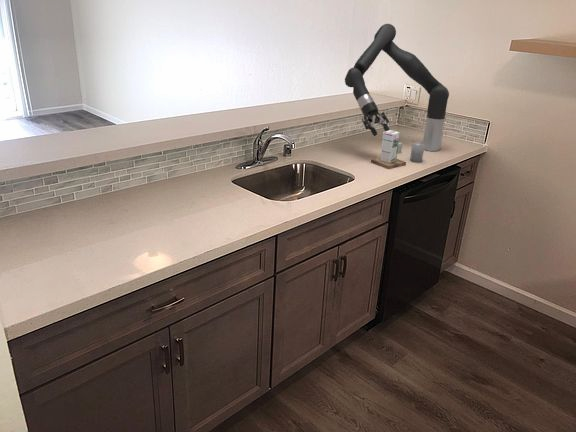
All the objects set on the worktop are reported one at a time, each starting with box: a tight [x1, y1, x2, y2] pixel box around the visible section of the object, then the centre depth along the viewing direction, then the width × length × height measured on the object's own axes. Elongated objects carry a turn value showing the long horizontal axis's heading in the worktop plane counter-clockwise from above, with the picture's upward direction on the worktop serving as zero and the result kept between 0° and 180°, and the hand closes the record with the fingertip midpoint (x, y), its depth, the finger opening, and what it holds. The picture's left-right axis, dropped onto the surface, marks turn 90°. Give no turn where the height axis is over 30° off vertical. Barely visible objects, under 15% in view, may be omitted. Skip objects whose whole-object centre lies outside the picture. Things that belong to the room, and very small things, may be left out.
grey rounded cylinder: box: [409, 141, 425, 164], centre depth 238 cm, size 6×6×9 cm
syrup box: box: [380, 129, 400, 163], centre depth 231 cm, size 6×6×14 cm
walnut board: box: [370, 156, 407, 170], centre depth 234 cm, size 12×12×2 cm
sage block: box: [397, 141, 403, 155], centre depth 252 cm, size 5×5×5 cm
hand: (382, 133), depth 233 cm, fingers open, 8 cm apart
